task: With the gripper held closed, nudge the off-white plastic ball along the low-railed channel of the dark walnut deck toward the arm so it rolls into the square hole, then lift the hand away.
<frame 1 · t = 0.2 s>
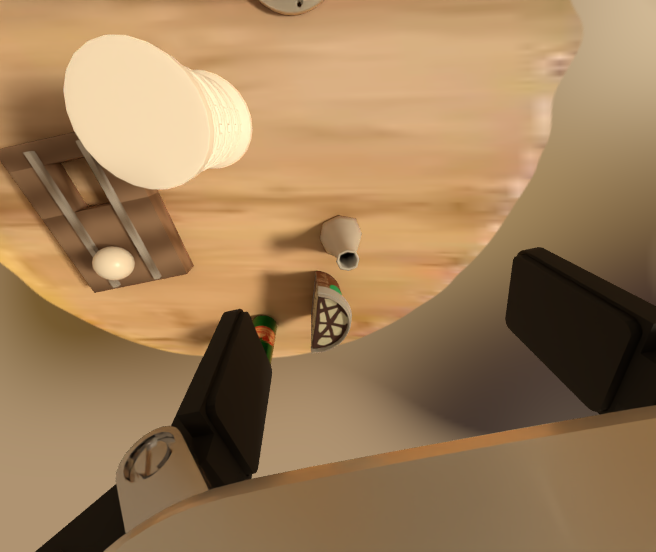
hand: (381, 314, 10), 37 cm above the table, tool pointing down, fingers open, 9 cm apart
food container: (329, 293, 53), on the table
deck: (114, 214, 43), on the table
ball: (114, 263, 41), point 5 cm above the table, touching deck
soda can: (264, 323, 55), on the table
decorative container: (210, 122, 38), on the table
flask: (340, 235, 47), on the table
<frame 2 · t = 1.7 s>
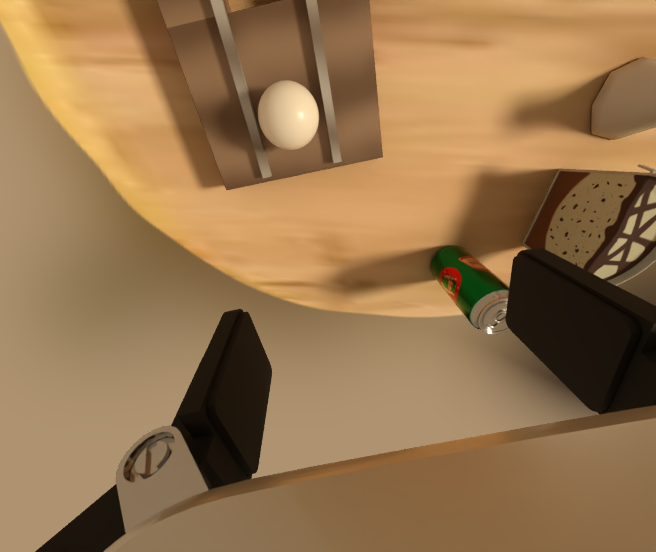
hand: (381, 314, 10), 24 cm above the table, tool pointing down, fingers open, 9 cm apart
food container: (560, 211, 34), on the table
deck: (276, 42, 25), on the table
ball: (288, 117, 23), point 5 cm above the table, touching deck
soda can: (447, 261, 37), on the table
flask: (622, 101, 29), on the table
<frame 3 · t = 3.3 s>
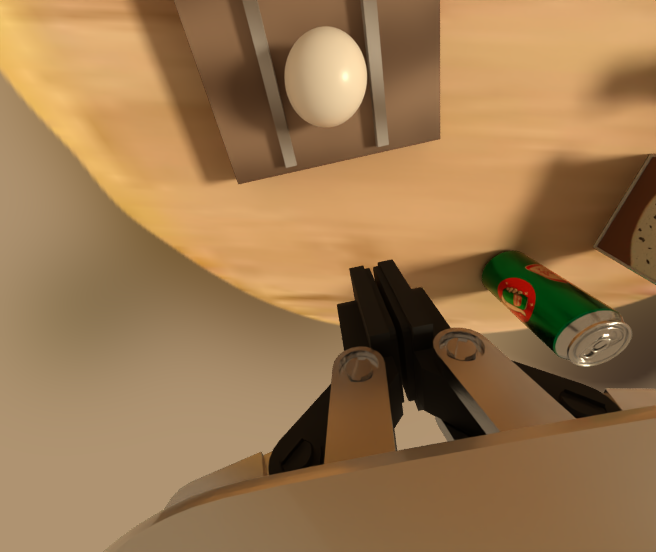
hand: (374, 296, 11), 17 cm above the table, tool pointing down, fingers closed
food container: (643, 206, 28), on the table
ball: (325, 81, 17), point 5 cm above the table, touching deck
soda can: (500, 268, 31), on the table
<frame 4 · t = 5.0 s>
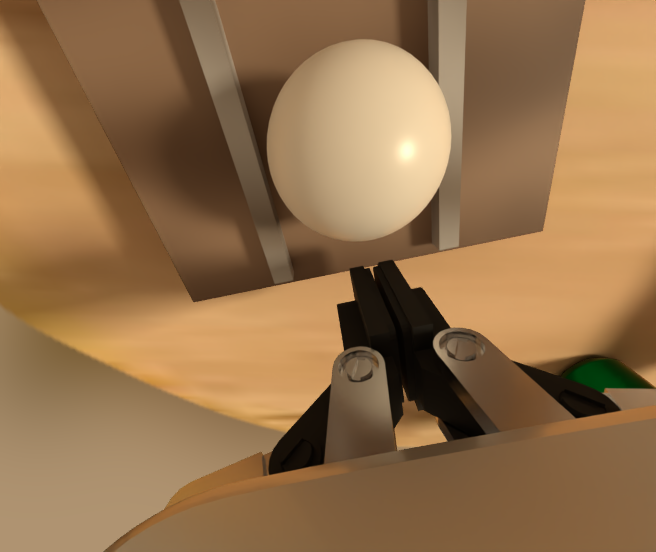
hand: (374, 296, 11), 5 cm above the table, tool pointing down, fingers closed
ball: (355, 153, 8), point 5 cm above the table, touching deck
soda can: (581, 375, 22), on the table
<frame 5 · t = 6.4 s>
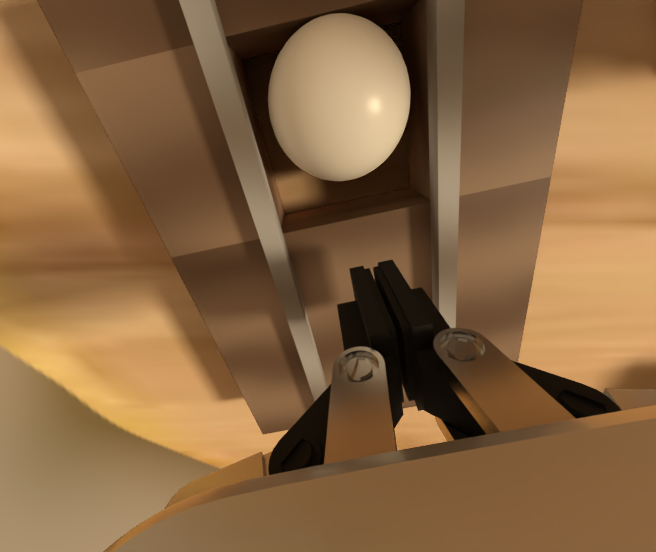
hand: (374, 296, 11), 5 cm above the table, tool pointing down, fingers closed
deck: (352, 233, 15), on the table
ball: (338, 108, 10), point 2 cm above the table, tilted 61°
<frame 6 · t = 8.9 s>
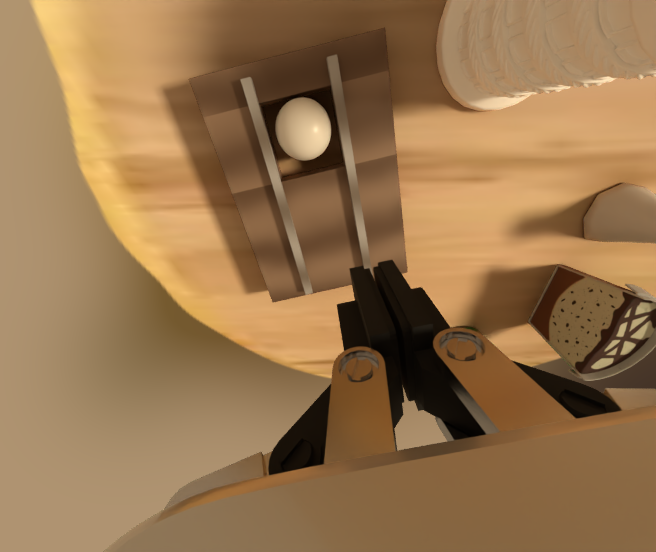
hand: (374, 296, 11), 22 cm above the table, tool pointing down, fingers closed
food container: (560, 294, 39), on the table
deck: (316, 187, 30), on the table
ball: (303, 130, 25), point 2 cm above the table, tilted 66°
decorative container: (498, 36, 25), on the table
flask: (609, 212, 34), on the table
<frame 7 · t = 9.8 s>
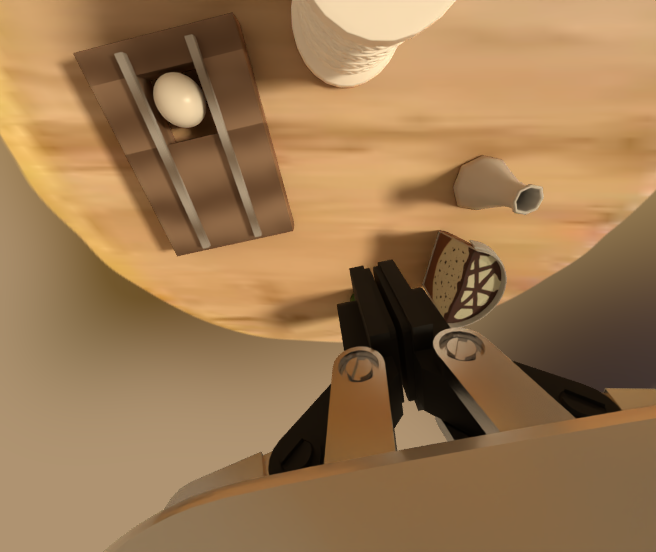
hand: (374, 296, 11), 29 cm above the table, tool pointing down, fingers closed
food container: (448, 259, 44), on the table
deck: (208, 153, 34), on the table
ball: (180, 101, 30), point 2 cm above the table, tilted 68°
decorative container: (346, 22, 29), on the table
flask: (477, 183, 38), on the table
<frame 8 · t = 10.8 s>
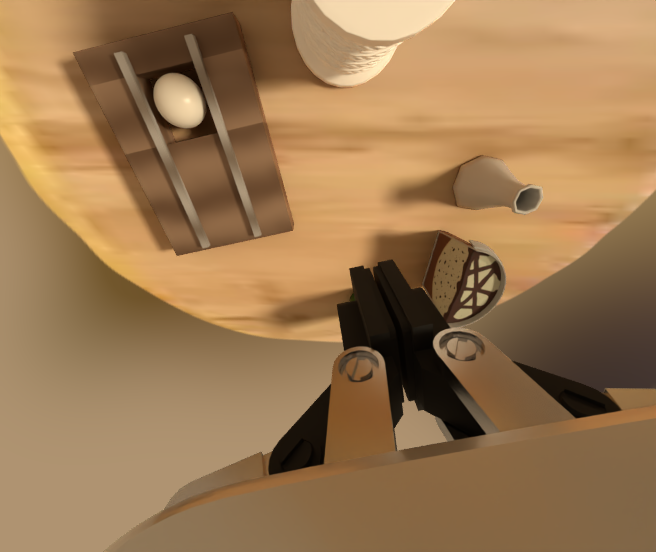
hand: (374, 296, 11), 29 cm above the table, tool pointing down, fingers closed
food container: (447, 259, 44), on the table
deck: (208, 153, 34), on the table
ball: (180, 101, 30), point 2 cm above the table, tilted 71°
decorative container: (346, 22, 29), on the table
flask: (477, 183, 38), on the table
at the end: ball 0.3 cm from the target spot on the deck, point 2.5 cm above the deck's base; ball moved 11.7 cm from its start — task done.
